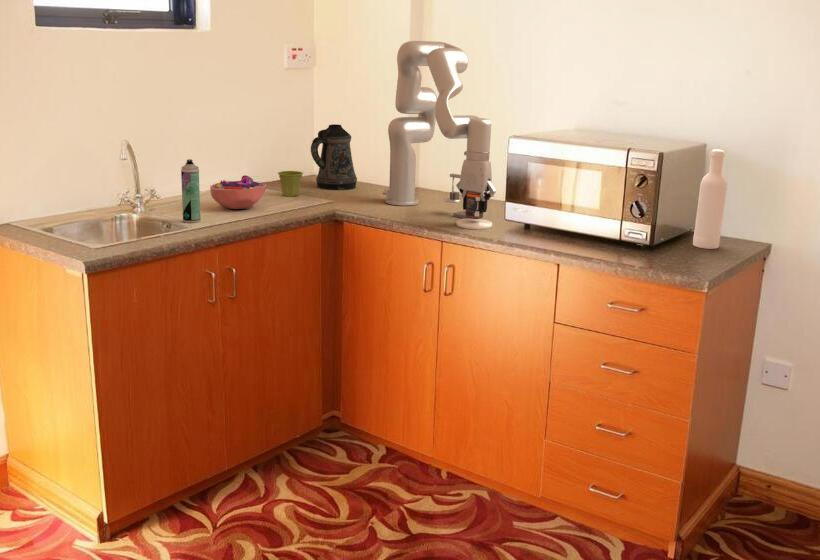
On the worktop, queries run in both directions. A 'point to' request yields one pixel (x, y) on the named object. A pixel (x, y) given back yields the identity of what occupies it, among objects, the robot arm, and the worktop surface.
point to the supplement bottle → (473, 205)
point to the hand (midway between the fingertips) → (474, 210)
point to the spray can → (190, 192)
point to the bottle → (711, 205)
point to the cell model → (238, 193)
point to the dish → (474, 224)
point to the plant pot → (290, 182)
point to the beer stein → (334, 159)
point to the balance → (456, 198)
